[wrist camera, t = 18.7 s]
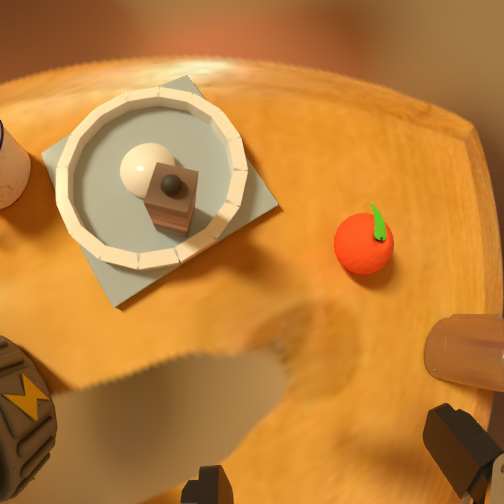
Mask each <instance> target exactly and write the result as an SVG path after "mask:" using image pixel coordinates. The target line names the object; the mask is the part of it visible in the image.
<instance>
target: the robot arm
mask: <svg viewBox="0 0 504 504" xmlns="http://www.w3.org/2000/svg"><path fill="white" fill-rule="evenodd" d="M424 360H425V365H426V369H427V371H428V372H429V374H430V375H431V376H433V377H435V378H438V379H443V380H447V381H451V382H455V383H460V384H464V385H469V386H473V387H478V388H483V389H488V390H493V391H499V392H504V319H502V316H501V315H500V314H454V315H453V316H452V317H451V318H446V319H443V320H440V321H439V322H438V323H437V324H436V325H435V326H434V327H433V329H432V330H431V332H430V334H429V336H428V338H427V342H426V345H425V352H424ZM423 441H424V444H425V446H426V448H427V450H428V451H429V452H430V454H431V455H432V457H433V458H434V460H435V461H436V463H437V464H438V466H439V467H440V469H441V470H442V472H443V473H444V475H445V476H446V478H447V479H448V481H449V482H450V484H451V486H452V487H453V489H454V490H455V492H456V493H457V495H458V496H459V498H460V499H462V498H463V497H465V496H467V495H468V494H469V495H470V496H471V500H470V504H504V451H503V450H502V449H501V448H500V447H499V446H498V445H497V444H496V442H495V441H494V440H493V439H492V438H491V437H490V436H489V435H488V433H487V432H486V431H485V430H484V429H482V427H481V426H480V425H479V424H478V423H477V421H476V420H475V419H474V418H473V417H472V416H471V415H470V414H469V413H467V412H465V411H463V410H461V409H458V410H456V411H455V410H454V409H453V408H452V407H451V406H450V405H449V404H448V403H444V404H442V405H440V406H438V407H435V408H433V409H431V410H429V412H428V415H427V419H426V424H425V428H424V432H423ZM181 504H234V503H233V492H232V487H231V485H230V482H229V480H228V478H227V476H226V474H225V472H224V470H223V468H222V466H221V465H215V466H202V467H200V470H199V480H189V481H188V482H187V484H186V485H185V487H184V488H183V490H182V495H181Z"/></svg>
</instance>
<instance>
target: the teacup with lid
mask: <svg viewBox="0 0 504 504" xmlns="http://www.w3.org/2000/svg"><path fill="white" fill-rule="evenodd" d="M30 171H31V162H30V158H29V155H28V153H27V152H26V151H25V150H24V148H23V147H22V146H21V145H20V144H19V143H18V142H17V141H16V140H15V139H14V138H13V137H12V136H11V134H10V133H9V132H8V131H7V130H6V129H5V128H4V127H3V124H2V122H1V120H0V209H2V208H5V207H8V206H9V205H11V204H12V203H14V202H15V201H16V200H17V199H18V198H19V196H20V195H21V194H22V192H23V191H24V189H25V187H26V185H27V183H28V180H29V176H30Z"/></svg>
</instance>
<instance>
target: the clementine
mask: <svg viewBox="0 0 504 504" xmlns="http://www.w3.org/2000/svg"><path fill="white" fill-rule="evenodd" d="M367 204H369V203H367ZM370 205H371V207H372V209H373V212H374V215H372V214H368V213H359V214H355V215H353V216H350V217H349V218H347V219H346V220H345V221H344V222H342V223H341V225H340V226H339V228H338V229H337V232H336V235H335V239H334V249H335V253H336V256H337V258H338V260H339V261H340V263H341V264H342V265H343V266H344V267H345V268H346V269H347V270H349V271H351V272H353V273H355V274H361V275H368V274H373V273H375V272H377V271H379V270H381V269H382V268H383V267H384V266H385V265H386V264H387V263H388V262H389V260H390V258H391V256H392V253H393V247H394V240H393V235H392V232H391V230H390V228H389V227H388V225H387V224H386V223H385V222H384V220H383V218H382V216H381V214H380V212H379V211H378V209H377V208H376V207H375V206H374V205H372V204H370Z"/></svg>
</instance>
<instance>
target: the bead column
mask: <svg viewBox="0 0 504 504" xmlns="http://www.w3.org/2000/svg"><path fill="white" fill-rule="evenodd" d="M198 173H199V171H194V170H190V169H186V168H181V167H177V166H173V165H168V164H163V163H159V162H157V163H156V166H155V169H154V172H153V175H152V178H151V181H150V184H149V187H148V190H147V193H146V196H145V200H144V205H145V207H146V209H147V211H148V214H149V216H150V218H151V220H152V223H153V225H154V227H155V229H156V230H157V231H161V232H165V233H169V234H174V235H178V236H182V237H186V238H187V237H188V233H189V229H190V225H191V221H192V217H193V213H194V210H195V203H196V193H197V183H198Z"/></svg>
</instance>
